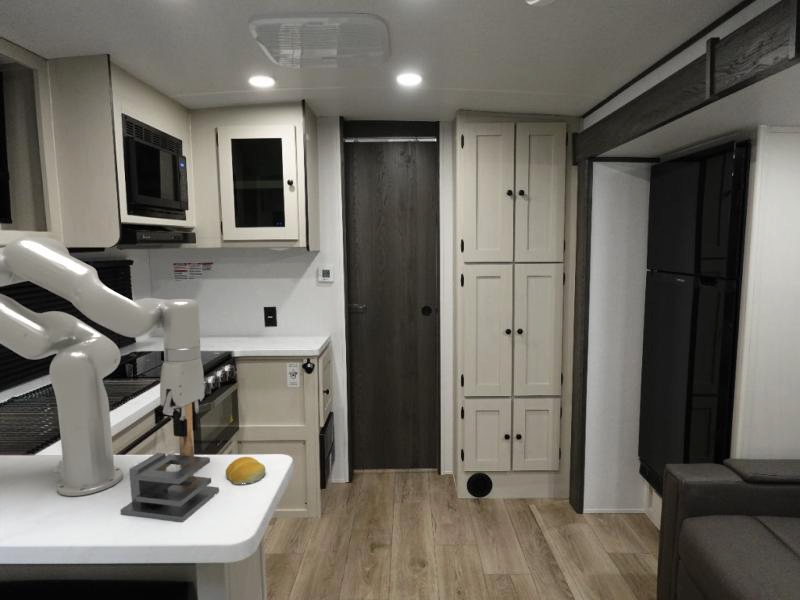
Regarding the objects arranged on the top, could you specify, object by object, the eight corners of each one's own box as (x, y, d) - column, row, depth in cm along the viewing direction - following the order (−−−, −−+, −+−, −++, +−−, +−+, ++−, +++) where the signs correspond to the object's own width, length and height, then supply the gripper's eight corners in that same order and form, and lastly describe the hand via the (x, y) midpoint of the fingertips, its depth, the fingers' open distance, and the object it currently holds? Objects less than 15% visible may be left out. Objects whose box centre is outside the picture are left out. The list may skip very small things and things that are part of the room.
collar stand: (120, 514, 99) (117, 473, 98) (162, 485, 110) (159, 448, 110) (182, 522, 96) (179, 479, 95) (218, 491, 107) (216, 453, 106)
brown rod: (177, 469, 114) (173, 383, 112) (185, 463, 117) (182, 379, 115) (189, 470, 113) (185, 384, 111) (197, 464, 116) (194, 380, 114)
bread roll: (237, 490, 108) (236, 472, 108) (221, 476, 115) (220, 459, 115) (272, 477, 114) (271, 461, 113) (255, 465, 121) (254, 449, 120)
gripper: (191, 346, 121) (194, 419, 123) (141, 361, 105) (146, 445, 107) (218, 347, 120) (221, 422, 121) (172, 363, 104) (176, 448, 106)
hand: (186, 432), depth 114 cm, fingers closed on brown rod, 3 cm apart
